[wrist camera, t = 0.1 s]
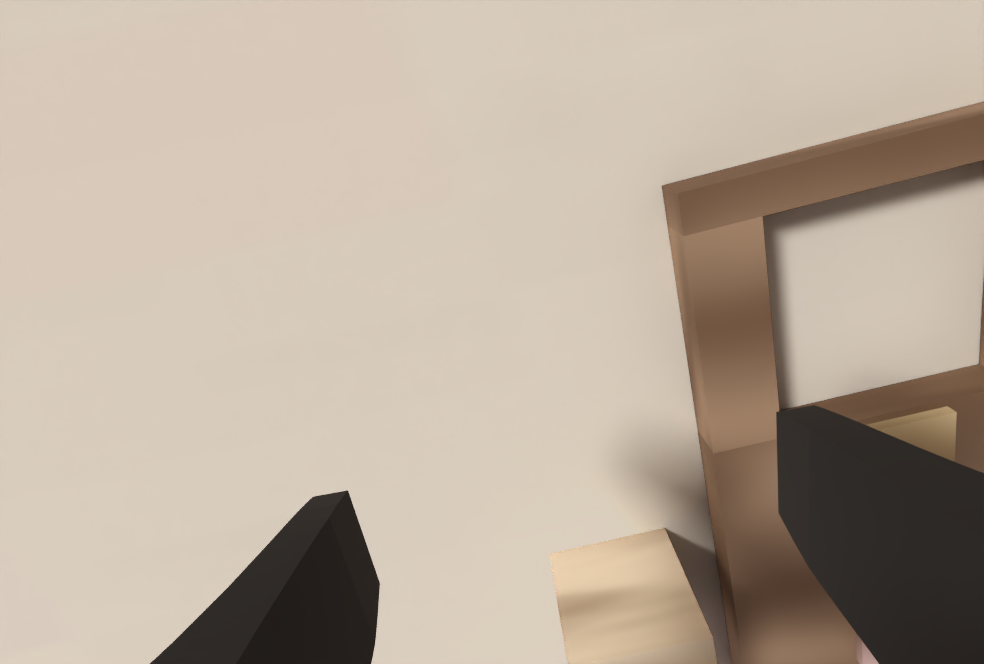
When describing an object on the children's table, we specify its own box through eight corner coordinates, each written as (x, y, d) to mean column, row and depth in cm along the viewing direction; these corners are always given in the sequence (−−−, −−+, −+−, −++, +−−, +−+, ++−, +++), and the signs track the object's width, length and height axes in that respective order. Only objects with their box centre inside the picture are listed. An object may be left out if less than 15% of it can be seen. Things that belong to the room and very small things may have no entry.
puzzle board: (1015, 661, 26) (1054, 702, 24) (739, 716, 27) (758, 760, 25) (1073, 78, 17) (1142, 76, 15) (661, 185, 18) (682, 195, 16)
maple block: (680, 612, 24) (728, 734, 20) (572, 635, 25) (595, 760, 20) (664, 527, 23) (712, 637, 18) (549, 552, 23) (568, 667, 18)
